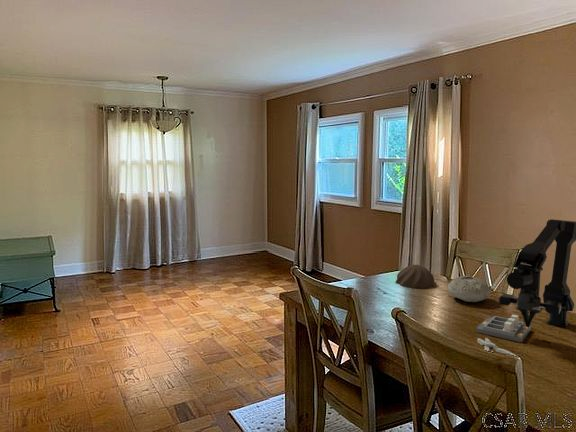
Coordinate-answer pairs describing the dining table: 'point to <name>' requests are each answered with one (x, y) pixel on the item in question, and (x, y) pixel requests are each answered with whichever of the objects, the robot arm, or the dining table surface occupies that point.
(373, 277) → the dining table surface
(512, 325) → the tab
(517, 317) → the tab
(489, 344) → the pliers
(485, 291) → the grey rounded stone
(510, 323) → the tab
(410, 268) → the decorative dome
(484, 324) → the switch bank
